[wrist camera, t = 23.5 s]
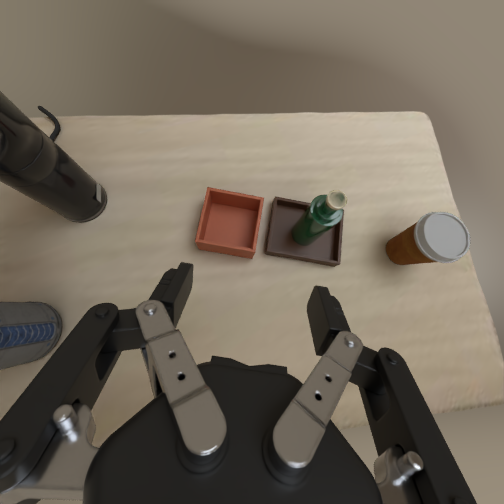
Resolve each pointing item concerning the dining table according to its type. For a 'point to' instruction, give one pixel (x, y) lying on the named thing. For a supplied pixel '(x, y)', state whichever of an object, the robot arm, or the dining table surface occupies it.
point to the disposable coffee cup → (430, 240)
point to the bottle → (319, 217)
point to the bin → (229, 223)
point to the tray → (284, 245)
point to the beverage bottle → (27, 332)
